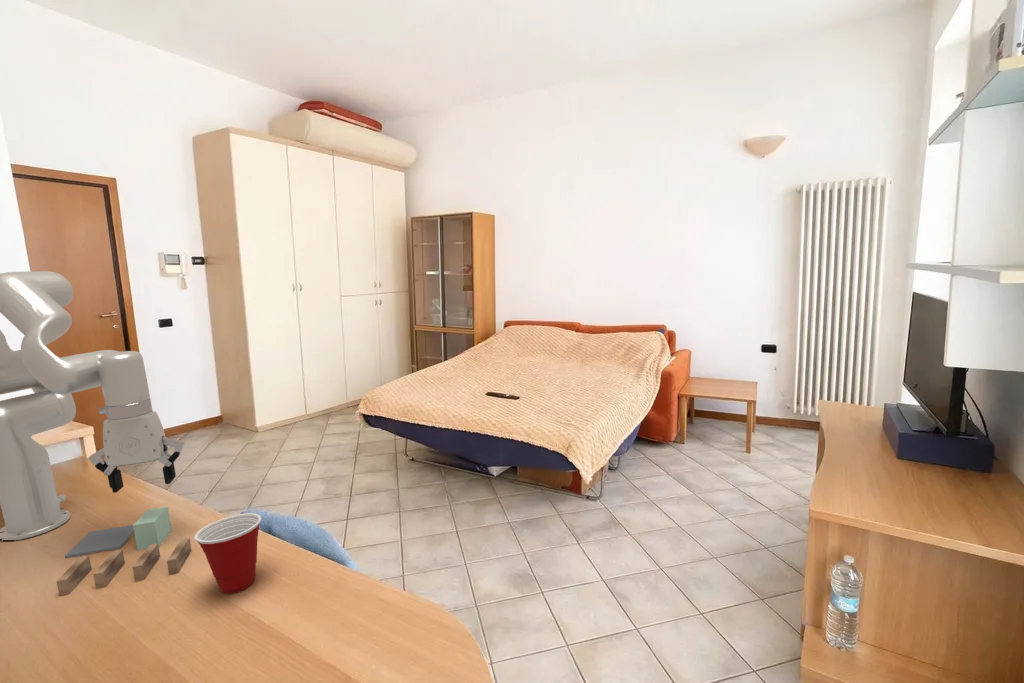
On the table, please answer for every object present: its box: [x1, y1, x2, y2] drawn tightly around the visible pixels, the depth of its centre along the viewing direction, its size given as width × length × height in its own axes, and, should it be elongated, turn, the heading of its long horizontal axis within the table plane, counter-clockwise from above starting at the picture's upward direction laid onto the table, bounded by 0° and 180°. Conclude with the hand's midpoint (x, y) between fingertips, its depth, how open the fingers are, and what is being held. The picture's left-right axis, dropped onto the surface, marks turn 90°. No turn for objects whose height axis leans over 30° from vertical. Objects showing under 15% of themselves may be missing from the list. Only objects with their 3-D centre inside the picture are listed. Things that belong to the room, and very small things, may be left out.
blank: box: [132, 506, 173, 551], centre depth 109 cm, size 7×4×6 cm, turn 15°
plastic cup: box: [194, 512, 262, 595], centre depth 91 cm, size 11×11×12 cm
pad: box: [64, 524, 135, 559], centre depth 110 cm, size 10×10×1 cm
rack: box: [56, 537, 193, 597], centre depth 98 cm, size 8×19×3 cm, turn 106°
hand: (144, 485), depth 106 cm, fingers open, 9 cm apart
